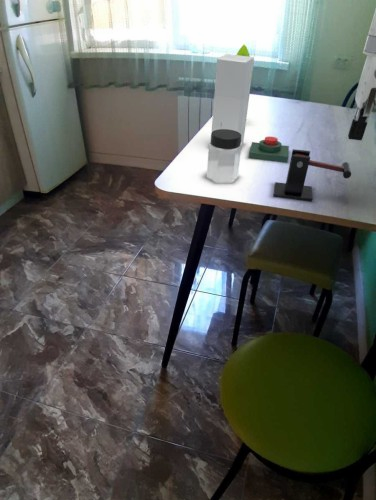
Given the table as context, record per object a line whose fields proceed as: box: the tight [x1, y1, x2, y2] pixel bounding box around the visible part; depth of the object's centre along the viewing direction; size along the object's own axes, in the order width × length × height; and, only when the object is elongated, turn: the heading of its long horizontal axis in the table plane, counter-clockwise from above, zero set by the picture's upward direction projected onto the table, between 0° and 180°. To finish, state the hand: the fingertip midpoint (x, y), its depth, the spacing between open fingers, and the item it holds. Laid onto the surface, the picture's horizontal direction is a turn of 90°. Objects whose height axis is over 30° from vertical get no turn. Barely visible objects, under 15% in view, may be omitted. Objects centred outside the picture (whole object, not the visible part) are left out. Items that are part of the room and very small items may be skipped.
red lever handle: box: [296, 153, 352, 179], centre depth 105 cm, size 14×6×2 cm, turn 79°
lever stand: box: [272, 148, 313, 202], centre depth 108 cm, size 10×8×11 cm
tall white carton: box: [210, 53, 255, 146], centre depth 128 cm, size 9×9×25 cm
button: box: [264, 136, 279, 146], centre depth 129 cm, size 4×4×2 cm
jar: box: [206, 129, 243, 184], centre depth 113 cm, size 9×8×12 cm
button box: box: [248, 139, 290, 164], centre depth 130 cm, size 12×10×4 cm
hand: (354, 138), depth 99 cm, fingers closed
